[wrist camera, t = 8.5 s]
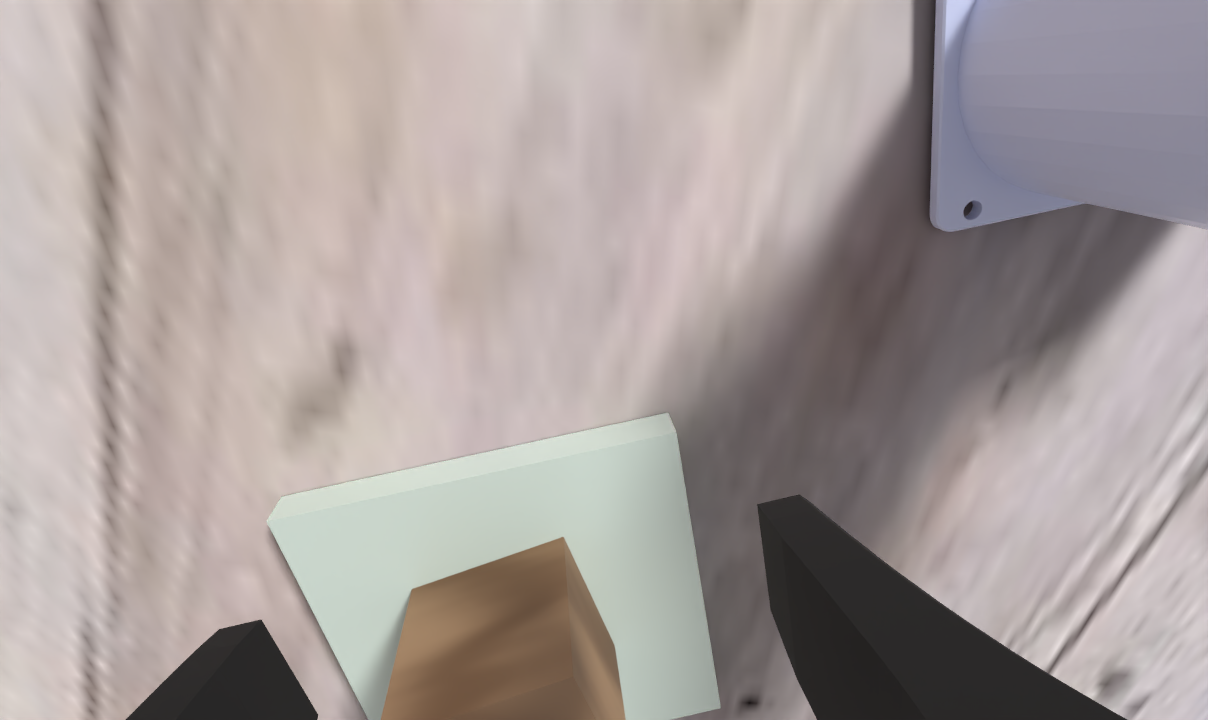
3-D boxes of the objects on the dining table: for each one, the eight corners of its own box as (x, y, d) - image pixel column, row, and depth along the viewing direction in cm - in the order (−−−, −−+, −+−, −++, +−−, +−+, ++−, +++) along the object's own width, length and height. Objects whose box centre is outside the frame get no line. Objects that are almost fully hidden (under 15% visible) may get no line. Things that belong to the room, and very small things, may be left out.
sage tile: (668, 412, 19) (676, 432, 18) (712, 680, 24) (720, 708, 23) (282, 496, 19) (266, 521, 18) (405, 749, 24) (399, 780, 23)
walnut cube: (563, 536, 19) (573, 676, 15) (614, 645, 21) (637, 797, 17) (411, 588, 19) (374, 743, 15) (477, 692, 22) (462, 855, 17)
